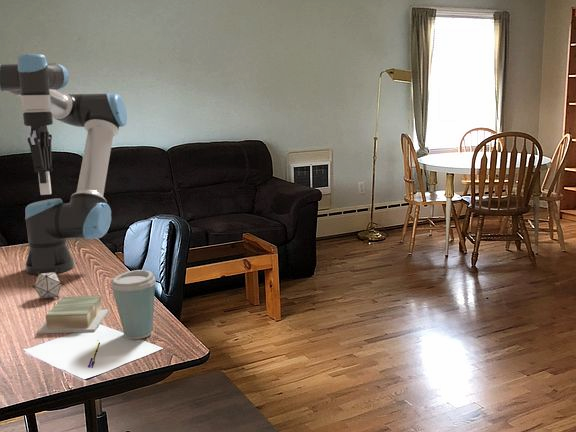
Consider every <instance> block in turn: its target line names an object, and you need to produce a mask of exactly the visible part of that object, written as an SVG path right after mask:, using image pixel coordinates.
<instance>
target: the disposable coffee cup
mask: <svg viewBox="0 0 576 432" xmlns="http://www.w3.org/2000/svg"><path fill="white" fill-rule="evenodd" d="M110 284H111V285H110V289H111V290H112V293H113V297H114V301H115V304H116V308H117V312H118V316H119V319H120V324H121V328H122V330H123V335H124V336H125V338H127V339H129V340H141V339H145V338H147V337H149V336H151V335H152V332H153V326H154V311H155V310H154V309H155V291H156V289H155V288H156V284H157V282H156V278H155V276H154V274H153V271H150V270H148V269H147V270H145V269H136V270H131V271H125V272H123V273H119V274H117V276H115V277H114V278H113V279H112V280H111V283H110Z"/></svg>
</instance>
